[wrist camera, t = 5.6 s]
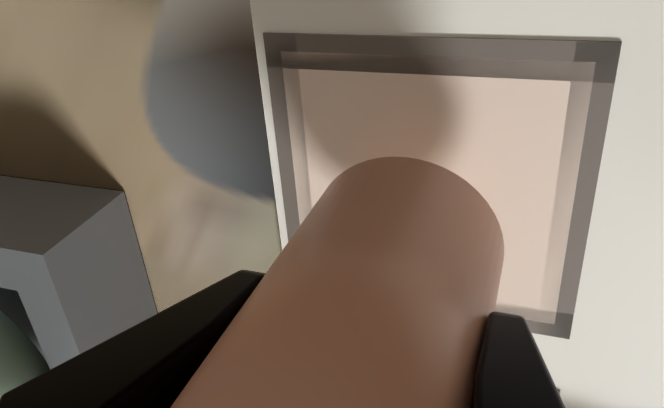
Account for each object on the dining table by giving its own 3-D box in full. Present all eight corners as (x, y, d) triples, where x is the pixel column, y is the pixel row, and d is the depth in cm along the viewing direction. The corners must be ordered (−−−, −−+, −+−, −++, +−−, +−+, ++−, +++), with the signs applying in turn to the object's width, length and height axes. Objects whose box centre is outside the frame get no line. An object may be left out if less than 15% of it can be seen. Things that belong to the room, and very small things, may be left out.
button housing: (123, 191, 14) (42, 254, 12) (188, 427, 18) (136, 505, 16) (-122, 160, 16) (-225, 207, 14) (-17, 372, 20) (-85, 434, 18)
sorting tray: (1401, -16, 6) (1441, -10, 6) (873, 651, 13) (879, 670, 13) (255, -15, 10) (246, -10, 10) (318, 494, 17) (314, 505, 17)
